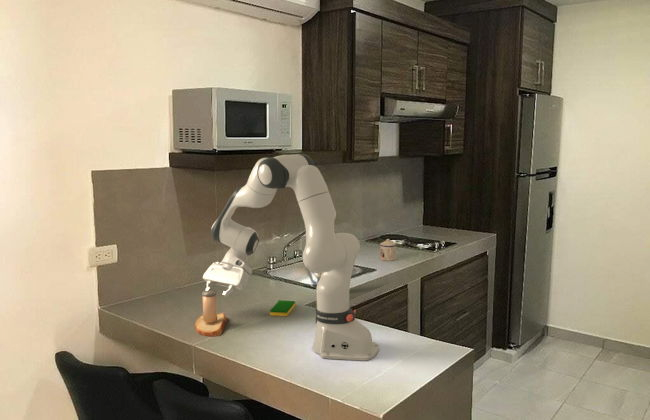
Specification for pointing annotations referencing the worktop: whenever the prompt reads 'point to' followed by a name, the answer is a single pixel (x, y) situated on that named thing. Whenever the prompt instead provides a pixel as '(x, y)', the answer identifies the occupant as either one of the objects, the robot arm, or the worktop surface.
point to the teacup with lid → (387, 250)
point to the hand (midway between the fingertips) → (215, 294)
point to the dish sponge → (282, 308)
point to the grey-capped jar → (209, 305)
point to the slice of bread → (211, 326)
